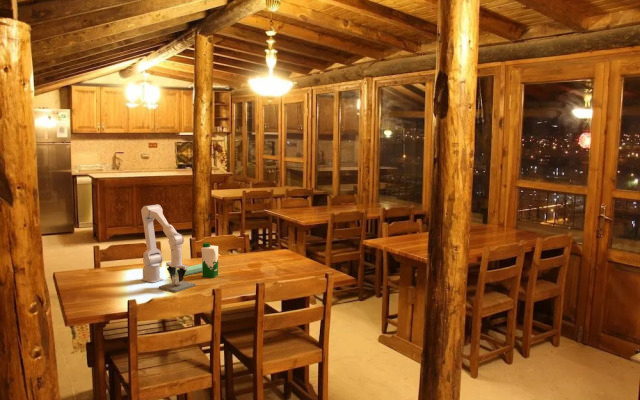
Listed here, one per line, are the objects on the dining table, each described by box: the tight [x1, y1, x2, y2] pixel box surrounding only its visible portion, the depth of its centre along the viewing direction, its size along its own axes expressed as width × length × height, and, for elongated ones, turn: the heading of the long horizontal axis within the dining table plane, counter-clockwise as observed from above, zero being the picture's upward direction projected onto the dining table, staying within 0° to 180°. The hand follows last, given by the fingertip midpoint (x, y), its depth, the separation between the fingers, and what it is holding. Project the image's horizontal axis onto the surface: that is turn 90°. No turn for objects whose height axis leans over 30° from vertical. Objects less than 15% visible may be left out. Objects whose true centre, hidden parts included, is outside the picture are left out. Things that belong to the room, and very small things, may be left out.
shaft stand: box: [158, 280, 196, 293], centre depth 309 cm, size 13×15×5 cm
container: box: [175, 263, 202, 277], centre depth 338 cm, size 6×6×25 cm
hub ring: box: [171, 275, 182, 284], centre depth 309 cm, size 5×5×4 cm
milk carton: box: [200, 242, 219, 279], centre depth 331 cm, size 9×9×20 cm
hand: (177, 280), depth 309 cm, fingers closed on hub ring, 5 cm apart
